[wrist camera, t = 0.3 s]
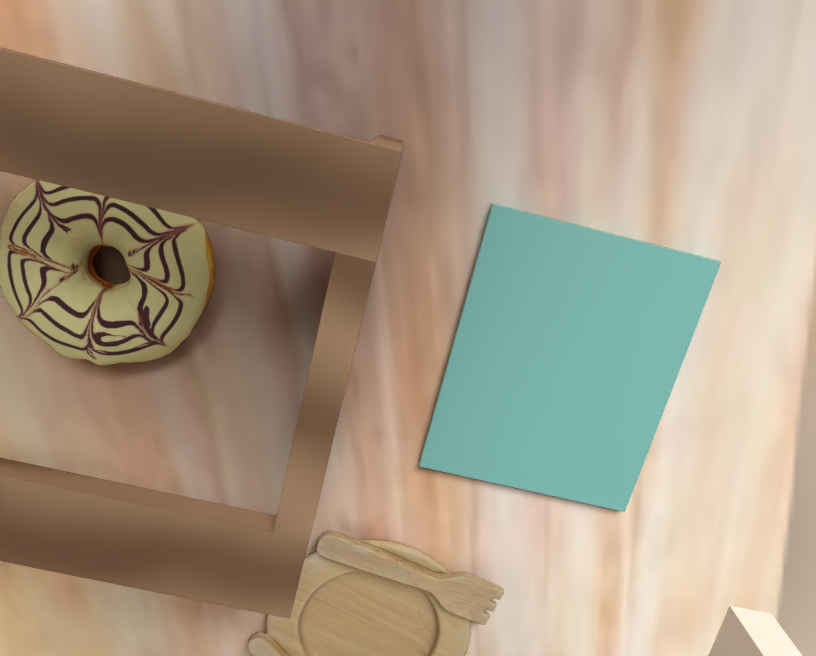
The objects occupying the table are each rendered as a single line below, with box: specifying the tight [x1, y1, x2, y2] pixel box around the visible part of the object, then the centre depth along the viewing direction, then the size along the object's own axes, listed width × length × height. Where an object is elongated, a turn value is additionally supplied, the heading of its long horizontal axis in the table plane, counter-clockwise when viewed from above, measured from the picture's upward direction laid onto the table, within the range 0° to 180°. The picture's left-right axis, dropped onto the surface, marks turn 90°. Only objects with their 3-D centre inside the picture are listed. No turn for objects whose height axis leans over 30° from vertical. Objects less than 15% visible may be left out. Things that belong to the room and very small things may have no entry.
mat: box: [419, 204, 721, 512], centre depth 40 cm, size 16×13×1 cm
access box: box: [0, 47, 402, 619], centre depth 32 cm, size 20×27×13 cm
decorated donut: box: [0, 180, 215, 365], centre depth 37 cm, size 10×11×4 cm
